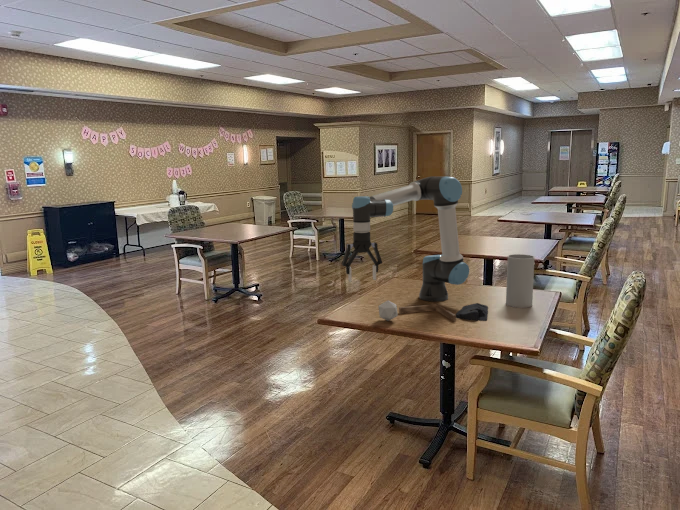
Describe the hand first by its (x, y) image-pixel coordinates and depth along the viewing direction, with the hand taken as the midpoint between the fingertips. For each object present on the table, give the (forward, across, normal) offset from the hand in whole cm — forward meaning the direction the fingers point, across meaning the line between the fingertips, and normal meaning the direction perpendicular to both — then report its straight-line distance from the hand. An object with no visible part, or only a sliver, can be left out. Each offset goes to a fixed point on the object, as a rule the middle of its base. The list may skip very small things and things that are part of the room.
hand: (362, 280), depth 233 cm
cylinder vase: (+20, -83, -5) cm, 86 cm away
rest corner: (+20, -31, 0) cm, 37 cm away
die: (+20, -12, 0) cm, 24 cm away
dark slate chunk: (+21, -54, +2) cm, 58 cm away
